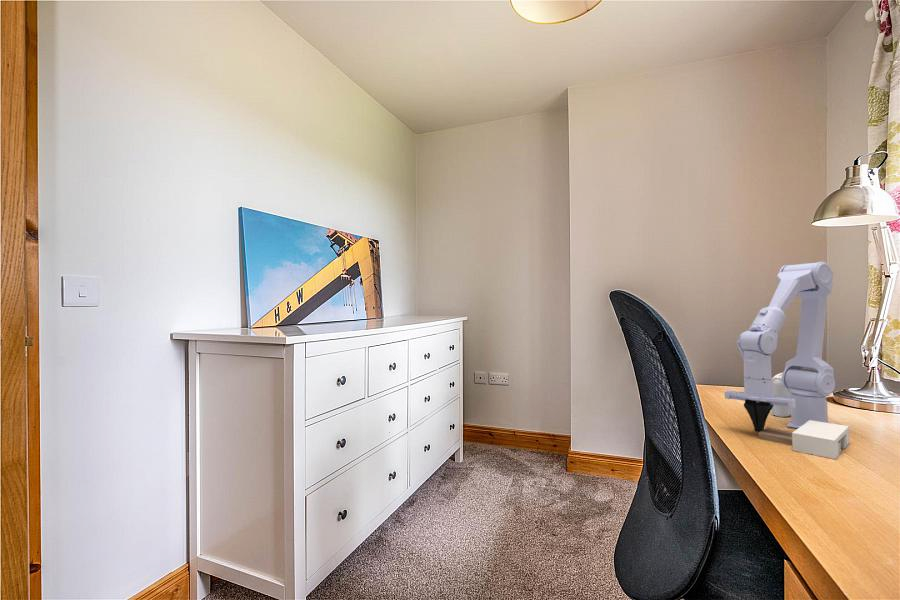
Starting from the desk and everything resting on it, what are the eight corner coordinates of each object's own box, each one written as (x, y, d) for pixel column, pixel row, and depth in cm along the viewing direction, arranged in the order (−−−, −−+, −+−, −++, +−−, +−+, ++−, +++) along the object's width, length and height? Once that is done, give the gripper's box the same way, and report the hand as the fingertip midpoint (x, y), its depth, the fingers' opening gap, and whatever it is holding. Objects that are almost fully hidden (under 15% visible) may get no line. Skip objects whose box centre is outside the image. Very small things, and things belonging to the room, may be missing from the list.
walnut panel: (767, 435, 107) (767, 427, 107) (812, 443, 100) (812, 435, 100) (758, 440, 103) (758, 432, 103) (805, 450, 96) (804, 441, 96)
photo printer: (782, 410, 130) (781, 370, 130) (799, 413, 126) (798, 372, 126) (769, 415, 124) (767, 373, 124) (786, 418, 120) (785, 375, 121)
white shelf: (810, 436, 104) (809, 420, 104) (849, 443, 99) (849, 426, 99) (792, 450, 94) (791, 432, 94) (835, 459, 89) (834, 440, 89)
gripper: (719, 376, 110) (721, 427, 109) (788, 383, 98) (790, 441, 98) (729, 373, 114) (731, 423, 114) (796, 379, 102) (798, 435, 102)
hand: (759, 431), depth 106 cm, fingers closed
